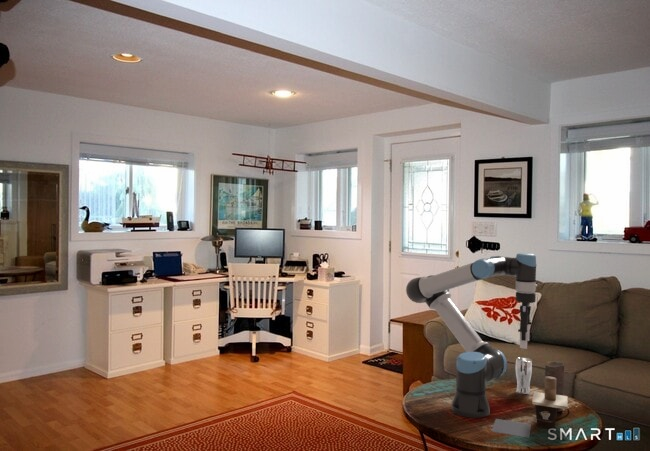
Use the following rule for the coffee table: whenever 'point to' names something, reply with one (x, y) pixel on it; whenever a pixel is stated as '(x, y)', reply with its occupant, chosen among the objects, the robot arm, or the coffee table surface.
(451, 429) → the coffee table surface
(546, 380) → the cover
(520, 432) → the mat
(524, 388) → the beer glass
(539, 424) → the coffee mug
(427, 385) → the coffee table surface
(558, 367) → the dark brown log
